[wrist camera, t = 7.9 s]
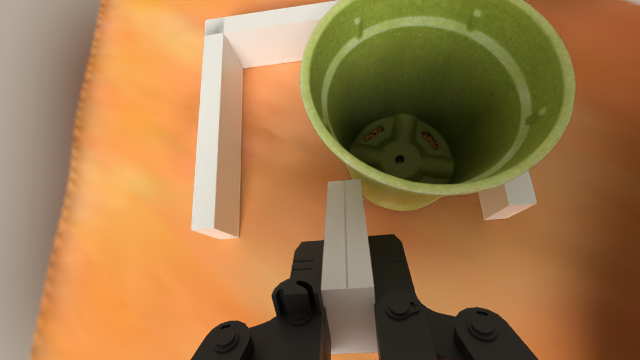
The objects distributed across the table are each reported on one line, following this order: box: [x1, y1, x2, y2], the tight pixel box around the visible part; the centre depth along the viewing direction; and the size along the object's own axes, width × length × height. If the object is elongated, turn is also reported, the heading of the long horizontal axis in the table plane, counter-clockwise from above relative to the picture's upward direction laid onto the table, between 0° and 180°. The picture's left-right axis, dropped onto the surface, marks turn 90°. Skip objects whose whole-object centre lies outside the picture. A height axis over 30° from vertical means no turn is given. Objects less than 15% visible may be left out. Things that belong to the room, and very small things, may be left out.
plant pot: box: [300, 0, 576, 211], centre depth 16 cm, size 9×9×9 cm
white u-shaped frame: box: [191, 0, 537, 239], centre depth 20 cm, size 16×13×4 cm
